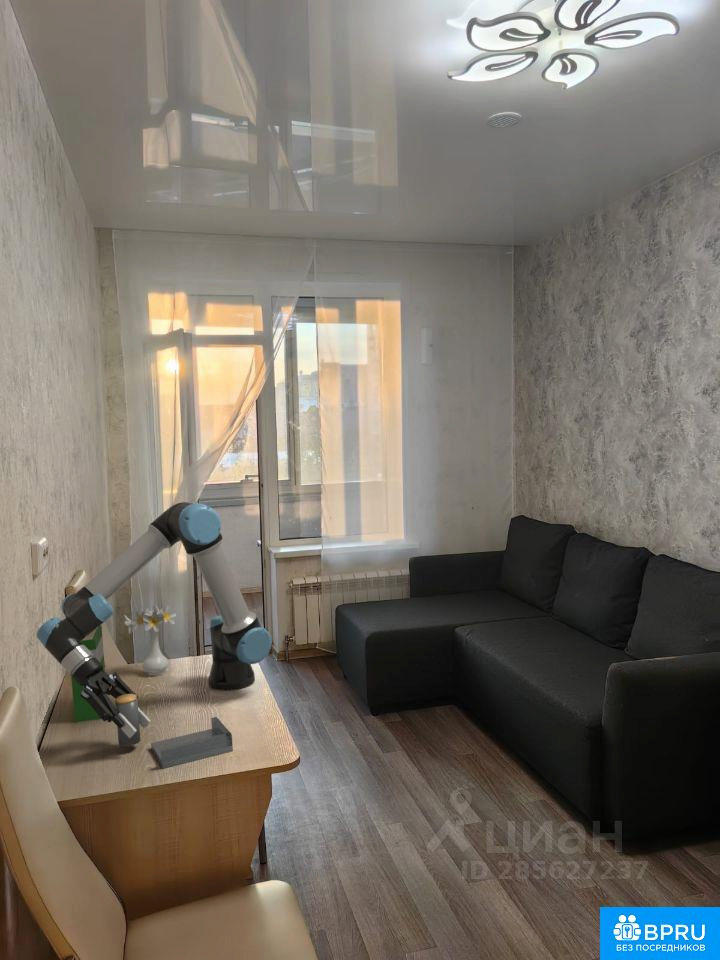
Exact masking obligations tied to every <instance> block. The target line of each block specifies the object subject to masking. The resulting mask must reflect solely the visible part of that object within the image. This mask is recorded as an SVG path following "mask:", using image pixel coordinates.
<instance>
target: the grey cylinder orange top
mask: <svg viewBox="0 0 720 960" xmlns="http://www.w3.org/2000/svg"><path fill="white" fill-rule="evenodd" d="M135 694H136V693H135ZM135 694H125V695H121V696H119V697H117V698H116V699H115V709H116V711H117V715H118V714H119V713H120V712H121V713H122V714H123V716H124V717H125V718H126V719H127V720H128V721H129V722H130V723H131V724H132V726H133V727H134V728H135V729H136V730H137V731H136V732H135V733H134V735H133V736H132V737H131V738H129V737H128V736H127V735H126V734H125V733H124V732H123V730H122V729H121V728H118V727H117V726H116V727H117V729H116V730H117V737H118V738H117V740H118V745H119V746H120V747H121V746H122V747H130V746H134V745H137V744H139V743H140V742H141V727H140V726H141V725H140V724H139V713H138V706H139V701H138V699H137V697H136V695H137V694H136V695H135Z"/></svg>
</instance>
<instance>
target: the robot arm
mask: <svg viewBox="0 0 720 960" xmlns="http://www.w3.org/2000/svg"><path fill="white" fill-rule="evenodd" d="M147 527H148V529H147V531H146V532H144V533H143V534H142V535H141V536H140V537H139V538H138V539H136V540H135V541H134V542H133V543H132V544H131V545H130V546H129V547H127V548H126V549H125V550H124V551H123V552H122V553H121V554H119V555H118V556H117V557H116V558H115V559H113V560H112V561H111V562H110V563H109V564H108V565H107V566H106V567H105V568H103V569H102V570H101V571H100V572H98V574H96V575H95V576H94V577H93V578H92V579H91V580H90V581H89V582H87V583H86V584H85V585H84V586H83V587H82V588H80V589H79V590H78V591H77V592H74V593H69V594H68V595H67V596H66V597H64V598H63V600H62V602H61V611H62V614H63V615H64V616H65V618H64V619H62V618H60V617H57V616H55V617H51V618H50V619H49V620H46V621H45V622H44V623H43V624H42V625H41V626H40V627H39V628H38V629H37V632H36V637H37V639H38V640H39V642H40V643H41V644H42V646H43V647H44V648H45V649H46V650H47V651H48V652H49V654H50V655H51V656H52V657H53V658H54V659H55V660H57V662H58V663H59V664H60V666H62V668H64V669H65V671H66V672H67V673H68V674H69V675H70V676H71V675H73V679H74V680H75V681H76V682H77V683H78V684H79V685H80V686H84V688H85V689H84V690H83V691H82V693H81V694H80V696H81V697H82V698H83V699H85V700H86V701H87V702H88V703H89V704H90V706H91V707H92V708H93V709H94V710H95V712H96V713H97V714H98V715H99V716H100V717H101V719H100V720H102V721H103V722H108V723H111V722H113V724H115V725H116V727H118V728H121V729H122V730H123V732H124V733H125V734H126V735H127V736H128V737H129V738H131V737H132V736H133V735H134V733H135V732H136V731H137V730H136V729H135V728H134V727H133V726H132V724H131V723H130V722H129V721H128V720H127V719H126V718H125V717H124V716H123V714H122V713H121V712H120V713H119V714H118V715H117V711H116V707H115V706H114V705H113V704H114V703H113V702H112V700H111V699H110V697H109V696H111V697H113V698H114V699H115V700H116V698H117V697H119V696H121V695H125V694H135V695H136V697H137V700H138V699H139V696H138V695H137V694H136V693H135V692H134V690H132V688H130V687H129V685H127V683H126V682H124V680H123V679H122V678H121V677H120V675H119V673H118V672H116V671H114V672H113V673H112V674H108V673H107V672H106V671H105V672H104V671H103V665H102V664H101V663H100V662H99V661H98V660H97V659H96V658H94V657H93V654H92V653H91V652H90V651H89V650H88V649H87V648H86V646H85V645H84V644H83V643H82V642H81V640H82V639H84V638H85V637H86V636H87V635H89V634H90V633H91V632H92V631H94V630H95V629H96V628H98V627H99V626H100V625H103V624H104V623H105V622H106V621H107V620H109V618H111V616H112V615H114V608H113V607H112V605H111V604H110V602H109V601H108V600H109V599H110V598H111V597H112V596H113V595H114V594H115V593H116V592H118V591H119V590H120V589H121V588H122V587H123V586H124V585H125V584H126V583H128V581H130V580H131V579H132V578H133V577H135V576H136V574H137V573H139V572H140V571H141V570H142V569H144V568H145V567H146V566H147V565H148V564H149V563H150V562H151V561H152V560H154V559H155V558H156V557H157V556H158V555H159V554H160V553H161V552H163V551H164V549H171V548H172V547H173V546H174V545H175V544H177V543H179V542H181V544H182V546H183V548H184V550H185V553H186V554H187V555H188V556H191V557H193V558H194V560H195V562H196V564H197V566H198V569H199V572H200V574H201V576H202V579H203V580H204V582H205V584H206V587H207V589H208V591H209V593H210V596H211V598H212V600H213V603H214V604H215V607H216V609H217V611H218V614H219V615H216V616H213V617H211V619H210V622H209V630H210V641H211V644H210V645H211V655H212V657H211V658H212V664H211V667H210V671H209V675H208V686H209V687H208V688H210V689H212V690H215V691H235V690H240V689H244V688H247V687H249V686H252V685H253V684H254V683H255V682H254V681H256V678H255V677H256V676H255V672H254V669H253V666H252V665H255V664H258V663H261V662H262V661H264V659H266V657H267V656H268V655H269V653H270V650H271V649H272V644H273V642H272V640H273V639H272V636H271V634H270V632H269V631H268V630H267V629H266V628H265V627H262V626H261V623H260V620H259V618H258V617H257V614H256V613H255V612H254V611H251V610H249V608H248V605H247V603H246V601H245V599H244V596H243V594H242V592H241V590H240V587H239V585H238V583H237V580H236V577H235V575H234V574H233V572H232V571H233V570H232V569H231V566H230V564H229V562H228V560H227V557H226V555H225V553H224V551H223V548H222V546H221V544H222V541H223V534H222V532H221V529H222V521H221V518H220V516H219V513H218V512H217V511H216V510H215V509H214V508H212V507H211V506H208V505H206V504H204V503H197V502H196V503H192V502H186V501H185V502H184V501H183V502H178V503H175V504H173V505H171V506H170V507H168V508H167V509H166V510H164V511H163V512H162V513H161V514H160V515H159V516H158V517H157V518H155V519H154V520H153V521H152V522H151V523H150V524H149V525H148V526H147ZM138 713H139V726H141V727H142V729H145V728H146V727H147V726H148V725H149V724H150V723H151V719H150V718H149V717H148V716H147V715H146V714H145V712H144V711H143V710H142V708H141V707H140V706H139V705H138Z"/></svg>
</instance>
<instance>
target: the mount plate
mask: <svg viewBox="0 0 720 960" xmlns="http://www.w3.org/2000/svg"><path fill="white" fill-rule="evenodd" d="M210 720H211V721H210V722H211V728H210V729H205V730H202V731H197V732H196V731H195V732H191V733H188V734H185V735H184V734H183V735H180V736H175V737H172V738H166V739H163V740H158V741H154V742H150V746H151V747H150V748H151V751H152V752H153V754H154V755H155V757H156V759H157V761H158V763H159V765H160V766H161V768H162V769H167V768H170V767H174V766H179V765H183V764H186V763H191V762H194V761H199V760H204V759H206V758H210V757H215V756H220V755H222V754H226V753H231V752H233V751H234V749H233V748H234V746H233V734H232V732H230V730H229V728H227V727H226V726H225V725H224V723H223V722H222V721H221V720H220V719H219V718H218V717H217V716H214V717H211V719H210Z"/></svg>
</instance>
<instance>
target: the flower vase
mask: <svg viewBox="0 0 720 960" xmlns="http://www.w3.org/2000/svg"><path fill="white" fill-rule="evenodd" d="M152 609H153V610H150V609H149V607H147V608H146V609H145V611H142V612H141V613H140V612H139V611H138V610H136V611H135V613H134V614H135V615H134V616H135V619H130V618H129V617H128V616H127V615H126V614H124V617H125V621H124V625H125V626H126V627H128V635H130V634H131V633H132V632H133V627H134V631H135V632H137V631H138V629H140V626H144V625H145V624H146V625H145V627H144V630H145V631H146V632H148V634H149V652H148V654H147V657H146V658H145V659H144V661H143V663H142V668H143V670H144V671H145V672H147V675H148V676H150V677H156V676H161V675H163V674H165V672H166V670H167V669H168V667H169V664H170V661H169V659H168V657H166V656H165V655H164V654H163V653H162V651H161V647H160V644H159V642H160V641H159V633H158V632H160V626H159V625H160V624H163V623H168V622H169V623H170V624H172V625H175V624H176V623H175V621H174V618H175V617H176V616H177V613H176V612H171V611H170V609H171V608H170V606H169V605H166V606H165V605H164V606H162V607H161V608H159V607H158V605H153V606H152Z"/></svg>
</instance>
